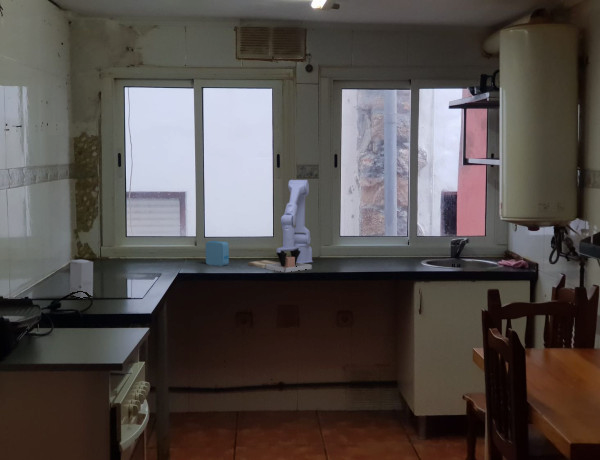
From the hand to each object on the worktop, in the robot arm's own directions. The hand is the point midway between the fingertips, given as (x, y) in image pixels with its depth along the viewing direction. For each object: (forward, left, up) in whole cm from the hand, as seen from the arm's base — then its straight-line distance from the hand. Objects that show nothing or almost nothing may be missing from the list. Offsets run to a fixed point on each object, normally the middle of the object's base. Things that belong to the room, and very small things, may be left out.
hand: (288, 265), depth 386 cm
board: (+2, -17, -2) cm, 17 cm away
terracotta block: (0, 0, -2) cm, 2 cm away
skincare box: (+111, +3, -2) cm, 111 cm away
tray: (0, 0, -2) cm, 2 cm away
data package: (+19, -35, -2) cm, 40 cm away
